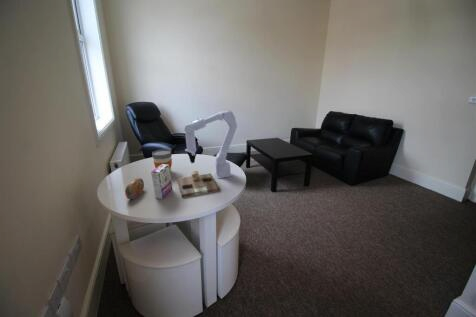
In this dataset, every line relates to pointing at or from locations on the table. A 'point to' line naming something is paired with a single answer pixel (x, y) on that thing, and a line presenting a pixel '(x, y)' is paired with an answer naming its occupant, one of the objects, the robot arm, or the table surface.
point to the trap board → (197, 185)
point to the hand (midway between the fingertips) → (192, 162)
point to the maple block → (195, 175)
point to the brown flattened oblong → (134, 188)
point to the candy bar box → (162, 181)
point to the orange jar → (162, 158)
